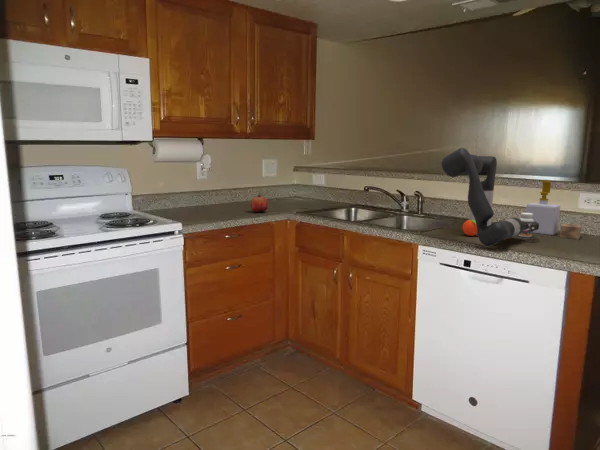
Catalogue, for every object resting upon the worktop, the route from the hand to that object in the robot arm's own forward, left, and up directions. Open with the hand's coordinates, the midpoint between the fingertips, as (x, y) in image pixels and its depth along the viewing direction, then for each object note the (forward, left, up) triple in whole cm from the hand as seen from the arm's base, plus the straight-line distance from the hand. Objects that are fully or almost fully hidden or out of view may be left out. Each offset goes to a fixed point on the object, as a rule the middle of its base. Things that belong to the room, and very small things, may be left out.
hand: (524, 222), depth 190 cm
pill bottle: (0, +1, -6) cm, 6 cm away
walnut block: (+16, +11, -6) cm, 20 cm away
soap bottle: (+5, +14, -6) cm, 16 cm away
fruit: (-136, -16, -6) cm, 137 cm away
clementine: (-19, -12, -6) cm, 23 cm away
